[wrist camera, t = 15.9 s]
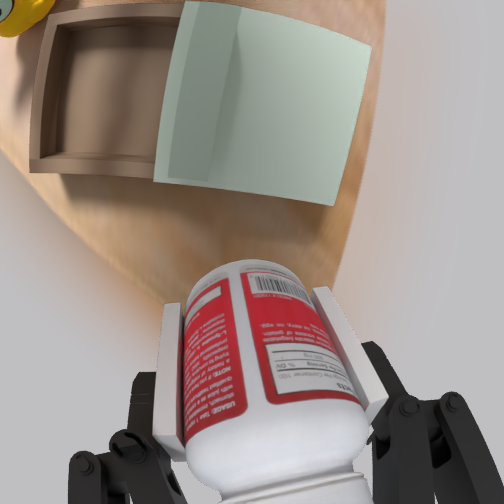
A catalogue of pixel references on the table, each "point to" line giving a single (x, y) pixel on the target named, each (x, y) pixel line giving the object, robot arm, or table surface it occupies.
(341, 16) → the table surface
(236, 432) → the pill bottle
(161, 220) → the table surface
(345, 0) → the table surface
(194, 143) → the lid
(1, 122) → the table surface
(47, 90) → the box
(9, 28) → the duckling
